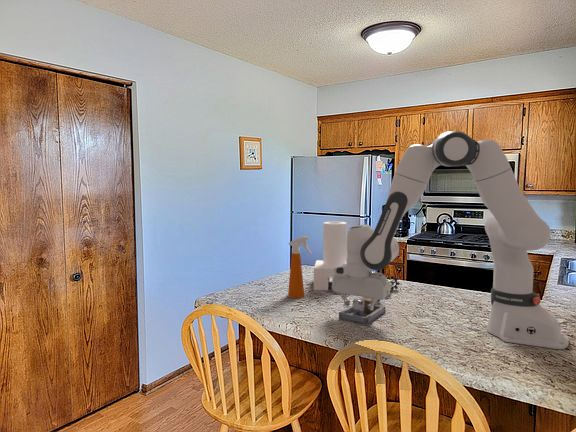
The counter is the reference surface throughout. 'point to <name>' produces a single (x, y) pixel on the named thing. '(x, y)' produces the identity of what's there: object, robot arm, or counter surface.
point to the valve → (391, 284)
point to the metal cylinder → (358, 307)
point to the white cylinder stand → (331, 253)
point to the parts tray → (367, 318)
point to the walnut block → (366, 303)
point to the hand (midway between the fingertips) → (358, 307)
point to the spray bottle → (297, 268)
